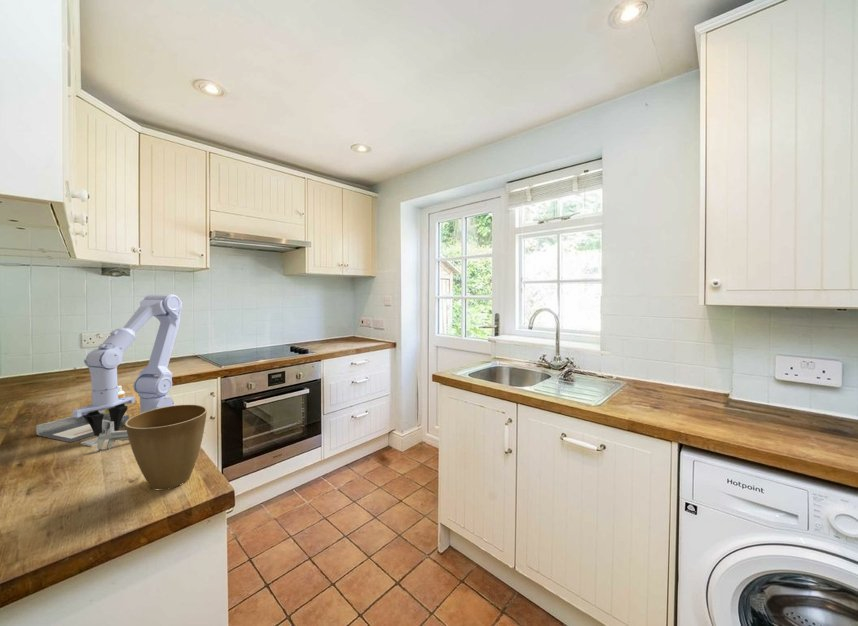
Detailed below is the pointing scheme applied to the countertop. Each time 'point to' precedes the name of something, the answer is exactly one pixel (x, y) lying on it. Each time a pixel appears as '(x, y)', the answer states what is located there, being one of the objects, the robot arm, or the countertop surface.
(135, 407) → the countertop surface
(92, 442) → the bracket
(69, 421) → the arena
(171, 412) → the plant pot
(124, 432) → the caliper
